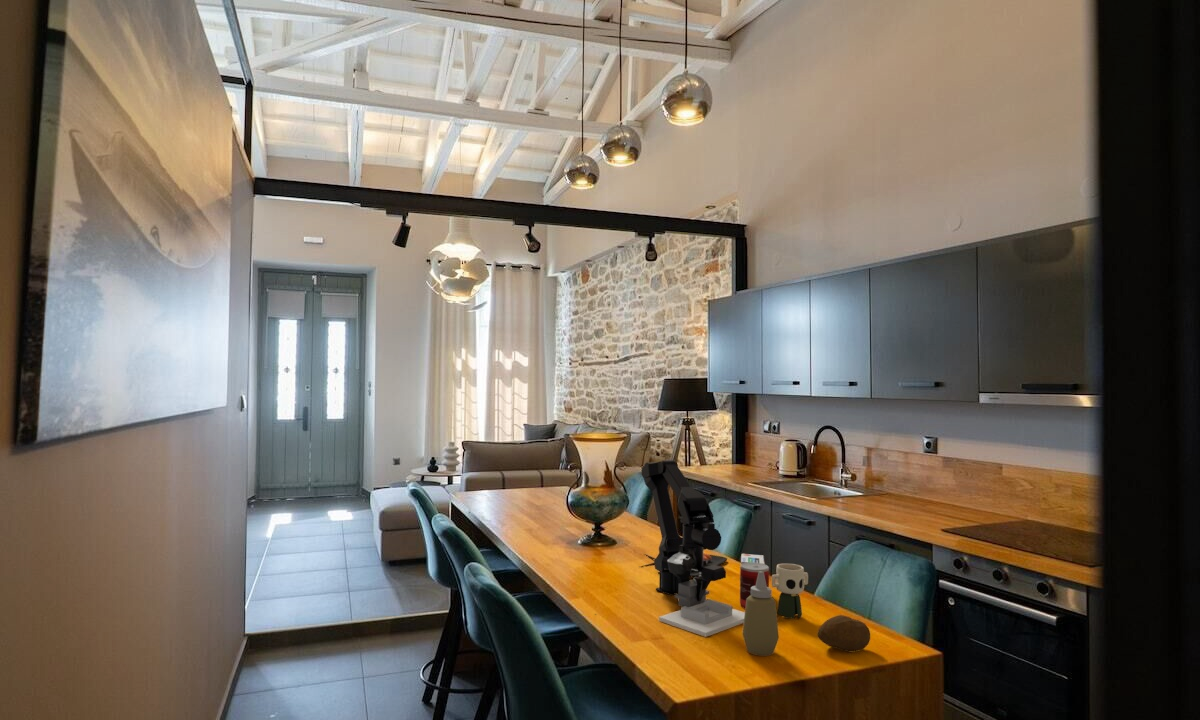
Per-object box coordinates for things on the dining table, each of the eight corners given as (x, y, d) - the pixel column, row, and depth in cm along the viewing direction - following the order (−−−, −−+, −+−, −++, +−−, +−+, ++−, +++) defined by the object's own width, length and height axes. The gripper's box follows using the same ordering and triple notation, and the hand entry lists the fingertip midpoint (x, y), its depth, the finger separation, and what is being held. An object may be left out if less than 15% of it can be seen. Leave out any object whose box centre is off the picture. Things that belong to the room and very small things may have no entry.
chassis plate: (658, 620, 181) (659, 607, 181) (707, 604, 195) (707, 592, 195) (705, 636, 170) (705, 622, 171) (753, 618, 184) (753, 605, 184)
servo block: (674, 606, 193) (675, 580, 193) (697, 599, 200) (698, 574, 200) (686, 610, 190) (686, 584, 191) (709, 603, 197) (709, 577, 197)
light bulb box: (764, 602, 199) (765, 563, 199) (740, 600, 200) (740, 561, 200) (763, 591, 209) (764, 554, 210) (740, 589, 211) (741, 553, 211)
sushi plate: (695, 582, 219) (695, 570, 219) (611, 567, 235) (612, 556, 235) (730, 563, 244) (730, 552, 244) (652, 550, 259) (652, 540, 260)
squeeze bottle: (737, 645, 165) (739, 567, 166) (771, 645, 166) (772, 567, 167) (748, 659, 157) (749, 577, 158) (783, 658, 158) (784, 577, 159)
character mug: (778, 622, 182) (779, 571, 182) (764, 613, 188) (764, 564, 189) (815, 619, 185) (815, 568, 185) (799, 610, 192) (800, 562, 192)
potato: (878, 654, 161) (878, 620, 162) (829, 658, 159) (829, 623, 159) (857, 642, 169) (857, 609, 170) (810, 645, 167) (810, 612, 167)
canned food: (769, 603, 197) (770, 564, 198) (766, 612, 190) (767, 571, 190) (742, 600, 200) (742, 561, 200) (737, 609, 192) (738, 568, 193)
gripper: (648, 539, 197) (647, 596, 196) (701, 552, 183) (700, 613, 183) (674, 534, 205) (673, 589, 204) (727, 546, 191) (726, 604, 191)
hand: (692, 598), depth 195 cm, fingers open, 5 cm apart
